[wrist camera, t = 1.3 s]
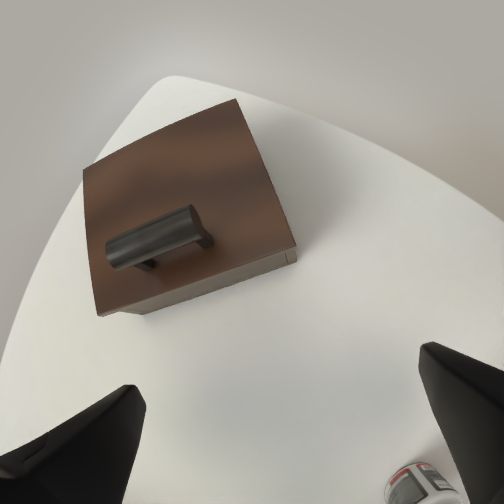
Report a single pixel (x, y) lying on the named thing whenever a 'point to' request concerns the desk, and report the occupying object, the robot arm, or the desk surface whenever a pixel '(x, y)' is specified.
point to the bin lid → (180, 210)
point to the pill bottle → (420, 487)
